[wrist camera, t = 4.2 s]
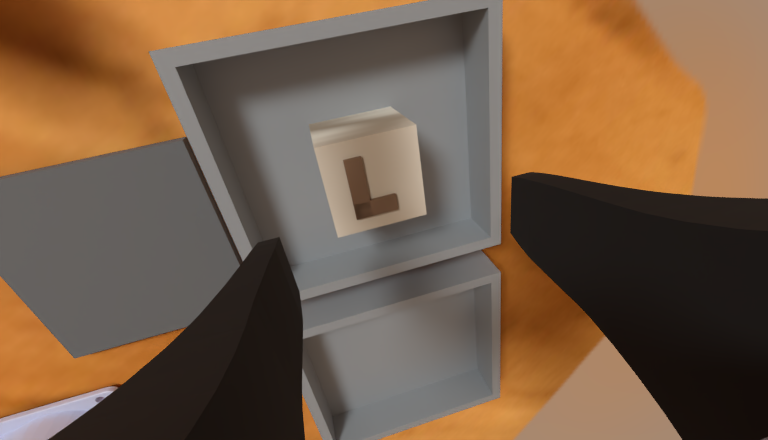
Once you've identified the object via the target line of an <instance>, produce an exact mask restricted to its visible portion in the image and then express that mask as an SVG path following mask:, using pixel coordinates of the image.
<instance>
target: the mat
mask: <svg viewBox="0 0 768 440" xmlns="http://www.w3.org/2000/svg"><path fill="white" fill-rule="evenodd" d="M241 264H242V260H241V258H240V256H239V253H238V251H237V249H236V247H235V245H234V242H233V240H232V238H231V236H230V233H229V231H228V229H227V227H226V225H225V222H224V220H223V218H222V216H221V213H220V211H219V209H218V207H217V205H216V202H215V200H214V198H213V196H212V193H211V191H210V189H209V187H208V185H207V182H206V180H205V178H204V176H203V173H202V171H201V169H200V167H199V165H198V162H197V160H196V158H195V156H194V153H193V151H192V149H191V147H190V145H189V142H188V140H187V138H186V137H183V138H179V139H174V140H169V141H165V142H160V143H155V144H151V145H146V146H142V147H137V148H132V149H128V150H123V151H118V152H114V153H109V154H104V155H100V156H95V157H90V158H86V159H81V160H76V161H72V162H67V163H63V164H58V165H53V166H49V167H44V168H39V169H35V170H30V171H25V172H21V173H16V174H11V175H7V176H2V177H0V276H1V277H2V278H3V279H4V281H5V282H6V283H7V284H8V285H9V286H10V287H11V288H12V289H13V291H14V292H15V293H16V294H17V295H18V296H19V297H20V298H21V299H22V301H23V302H24V303H25V304H26V305H27V306H28V307H29V308H30V309H31V311H32V312H33V313H34V314H35V315H36V316H37V317H38V318H39V319H40V321H41V322H42V323H43V324H44V325H45V326H46V327H47V328H48V329H49V331H50V332H51V333H52V334H53V335H54V336H55V337H56V338H57V339H58V341H59V342H60V343H61V344H62V345H63V346H64V347H65V348H66V349H67V351H68V352H69V353H70V354H71V355H72V356H73V357H74V358H78V357H81V356H85V355H88V354H92V353H96V352H99V351H103V350H106V349H110V348H113V347H117V346H120V345H124V344H127V343H131V342H135V341H138V340H142V339H145V338H149V337H152V336H156V335H159V334H163V333H167V332H170V331H174V330H177V329H181V328H184V327H188V326H189V325H190V324H191V323H192V322H193V321H194V320H195V319H196V318H197V317H198V316H199V314H200V313H201V312H202V311H203V310H204V309H205V308H206V307H207V305H208V304H209V303H210V302H211V301H212V300H213V298H214V297H215V296H216V295H217V294H218V293H219V291H220V290H221V289H222V288H223V287H224V286H225V284H226V283H227V282H228V280H229V279H230V278H231V277H232V275H233V274H234V273H235V271H236V270H237V269H238V268H239V266H240V265H241Z"/></svg>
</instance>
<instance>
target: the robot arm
mask: <svg viewBox="0 0 768 440" xmlns="http://www.w3.org/2000/svg"><path fill="white" fill-rule="evenodd" d="M511 234H512V235H513V237H514V238H515V240H516V241H517V242H518V244H519V245H520V246H521V248H522V249H523V250H524V251H525V253H526V254H527V255H528V256H529V257H530V258H531V259H532V261H533V262H534V263H535V264H537V265H538V266H539V267H540V268H541V269H542V270H543V271H544V272H545V273H546V274H547V275H548V276H549V277H550V278H551V279H552V280H553V281H554V282H555V283H556V284H557V285H558V286H559V287H560V288H561V289H562V290H563V291H564V292H565V293H566V294H567V295H568V296H569V297H571V298H572V299H573V300H574V301H575V302H576V303H577V304H578V305H579V306H580V307H581V308H582V309H583V310H584V311H585V313H586V314H587V315H588V316H589V317H590V318H591V319H592V320H593V321H594V323H595V324H596V325H597V326H598V327H599V329H600V330H601V331H602V332H603V333H604V335H605V336H606V337H607V338H608V339H609V340H610V342H611V343H612V344H613V345H614V346H615V348H616V349H617V350H618V352H619V353H620V354H621V355H622V357H623V358H624V359H625V361H626V362H627V363H628V364H629V366H630V367H631V368H632V370H633V371H634V372H635V373H636V375H637V376H638V377H639V379H640V380H641V381H642V383H643V384H644V386H645V387H646V388H647V390H648V391H649V392H650V393H651V395H652V396H653V398H654V399H655V401H656V402H657V403H658V405H659V406H660V408H661V409H662V410H663V411H664V413H665V414H666V416H667V417H668V419H669V420H670V422H671V423H672V425H673V426H674V428H675V429H676V430H677V432H678V434H679V435H680V437H681V438H682V440H768V199H755V198H725V197H706V196H693V195H682V194H671V193H661V192H653V191H645V190H638V189H632V188H625V187H619V186H613V185H607V184H601V183H596V182H590V181H585V180H580V179H574V178H569V177H563V176H558V175H551V174H545V173H534V172H529V173H525V174H521V175H517V176H514V177H512V190H511ZM302 365H303V316H302V307H301V299H300V291H299V289H298V286H297V283H296V281H295V278H294V275H293V272H292V270H291V267H290V264H289V262H288V259H287V256H286V254H285V251H284V248H283V245H282V243H281V240H280V237H277V238H273V239H269V240H265V241H262V242H258V243H257V244H256V245H255V246H254V248H253V249H252V250H251V252H250V253H249V254H248V256H247V257H246V258H245V260H244V261H243V262H242V264H241V265H240V266H239V268H238V269H237V270H236V271H235V273H234V274H233V275H232V277H231V278H230V279H229V280H228V282H227V283H226V284H225V286H224V287H223V288H222V289H221V290H220V291H219V293H218V294H217V295H216V296H215V297H214V298H213V300H212V301H211V302H210V303H209V304H208V305H207V307H206V308H205V309H204V310H203V311H202V312H201V313H200V314H199V316H198V317H197V318H196V319H195V320H194V321H193V322H192V323H191V324H190V325H189V326H188V327H187V328H186V329H185V330H184V331H183V332H182V333H181V334H180V335H179V336H178V337H177V338H176V339H175V340H174V341H172V342H171V343H170V344H169V345H168V346H167V347H166V348H165V349H164V350H163V351H162V352H160V353H159V354H158V355H157V356H156V357H155V358H153V359H152V360H151V361H150V362H149V363H147V364H146V365H145V366H144V367H143V368H142V369H140V370H139V371H138V372H137V373H136V374H135V375H133V376H132V377H131V378H130V379H129V380H127V381H126V382H125V383H124V384H123V385H121V386H120V387H119V388H118V387H115V386H110V387H106V388H102V389H99V390H96V391H92V392H89V393H85V394H82V395H79V396H75V397H72V398H68V399H65V400H62V401H58V402H55V403H51V404H48V405H45V406H41V407H38V408H34V409H31V410H28V411H24V412H21V413H17V414H14V415H11V416H7V417H4V418H0V440H305V434H304V423H303V411H302Z"/></svg>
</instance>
